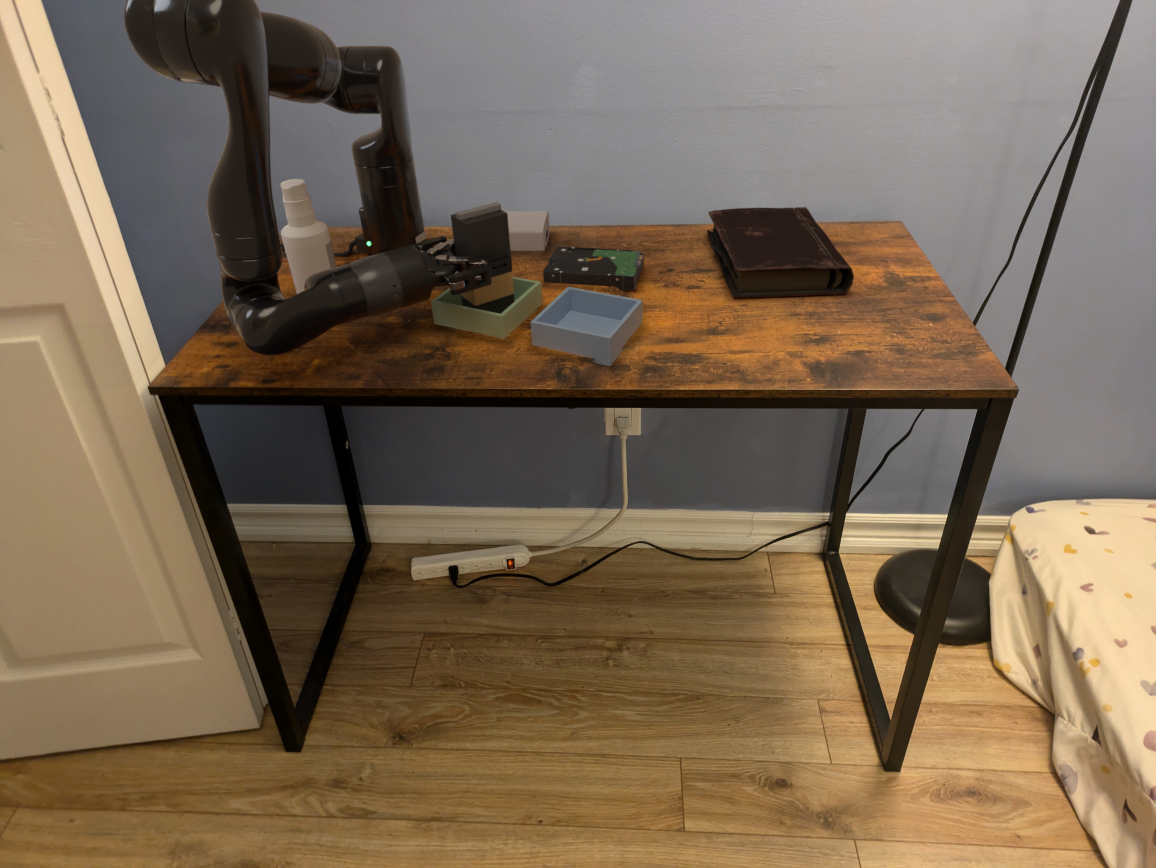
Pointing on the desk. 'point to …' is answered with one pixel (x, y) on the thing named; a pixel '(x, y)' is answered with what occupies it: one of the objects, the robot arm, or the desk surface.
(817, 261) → the diary
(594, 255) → the disk drive
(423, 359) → the desk surface
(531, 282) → the left bin
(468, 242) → the coffee bag
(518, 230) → the charger
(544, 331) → the right bin
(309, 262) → the spray bottle
